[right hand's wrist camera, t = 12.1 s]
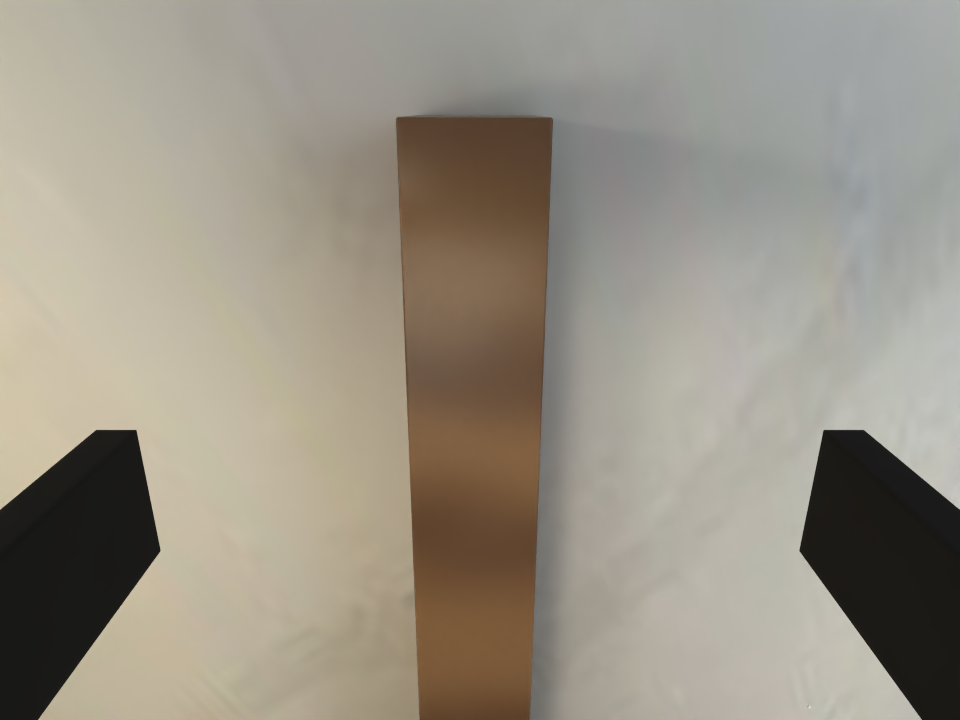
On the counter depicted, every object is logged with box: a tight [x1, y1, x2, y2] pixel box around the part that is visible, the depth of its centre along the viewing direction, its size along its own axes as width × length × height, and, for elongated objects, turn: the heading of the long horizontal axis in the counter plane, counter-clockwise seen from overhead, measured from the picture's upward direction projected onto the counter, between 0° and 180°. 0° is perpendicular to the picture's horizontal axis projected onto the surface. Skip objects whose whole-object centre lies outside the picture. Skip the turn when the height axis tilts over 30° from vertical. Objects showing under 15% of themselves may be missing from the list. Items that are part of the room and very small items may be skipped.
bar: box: [396, 115, 553, 720], centre depth 36 cm, size 55×5×8 cm, turn 0°
